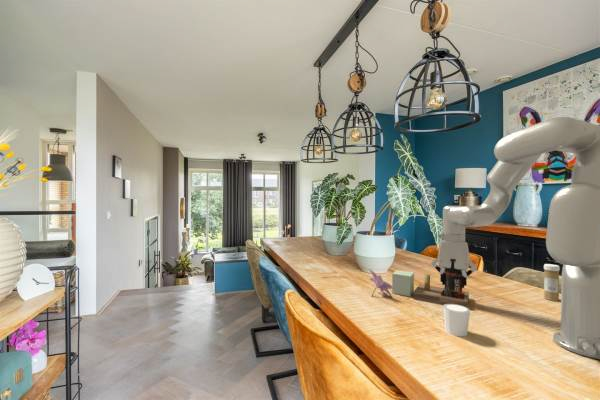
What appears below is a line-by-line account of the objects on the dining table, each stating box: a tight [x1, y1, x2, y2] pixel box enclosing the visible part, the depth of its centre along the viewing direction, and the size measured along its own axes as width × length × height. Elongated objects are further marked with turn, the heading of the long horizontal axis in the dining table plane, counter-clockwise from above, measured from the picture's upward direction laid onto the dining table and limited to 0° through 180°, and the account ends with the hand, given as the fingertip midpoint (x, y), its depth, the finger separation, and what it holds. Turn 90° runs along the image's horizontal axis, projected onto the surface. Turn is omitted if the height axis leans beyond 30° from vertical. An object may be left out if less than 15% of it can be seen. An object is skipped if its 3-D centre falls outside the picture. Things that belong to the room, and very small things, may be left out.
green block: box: [391, 269, 415, 297], centre depth 115 cm, size 7×7×8 cm
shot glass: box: [442, 304, 471, 337], centre depth 81 cm, size 7×7×7 cm
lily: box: [368, 269, 394, 297], centre depth 112 cm, size 12×12×10 cm
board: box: [412, 273, 470, 309], centre depth 109 cm, size 13×18×8 cm
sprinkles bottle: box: [543, 263, 561, 302], centre depth 109 cm, size 5×5×14 cm
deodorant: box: [443, 259, 463, 299], centre depth 106 cm, size 6×6×15 cm
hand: (453, 285), depth 106 cm, fingers closed on deodorant, 5 cm apart
